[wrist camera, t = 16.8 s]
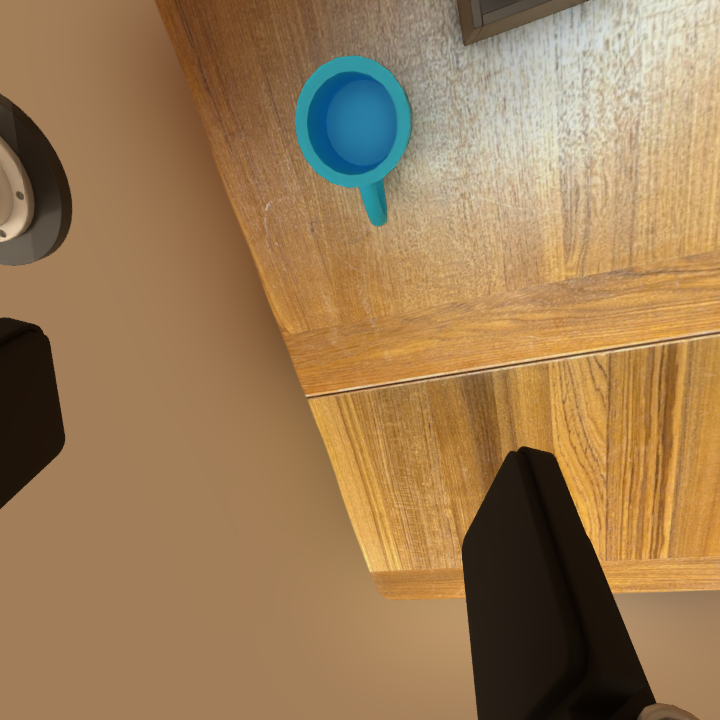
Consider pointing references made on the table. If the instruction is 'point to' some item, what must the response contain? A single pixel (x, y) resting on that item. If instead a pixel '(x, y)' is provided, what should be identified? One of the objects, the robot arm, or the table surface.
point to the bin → (503, 15)
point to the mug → (354, 127)
